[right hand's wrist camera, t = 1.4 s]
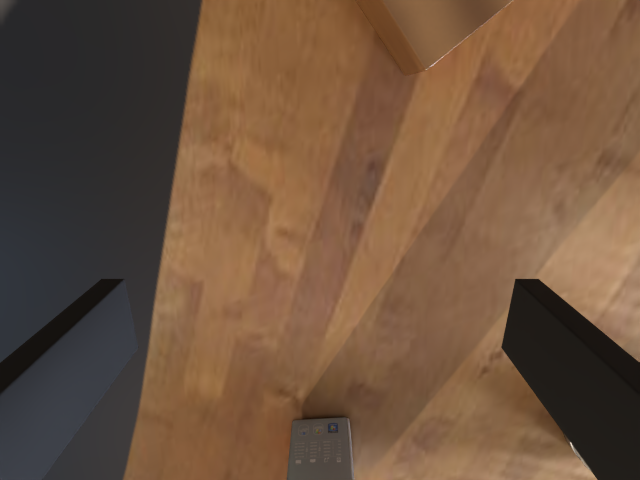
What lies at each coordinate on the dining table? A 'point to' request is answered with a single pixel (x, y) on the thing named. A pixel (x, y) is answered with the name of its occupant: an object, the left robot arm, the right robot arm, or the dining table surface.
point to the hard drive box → (320, 450)
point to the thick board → (426, 27)
